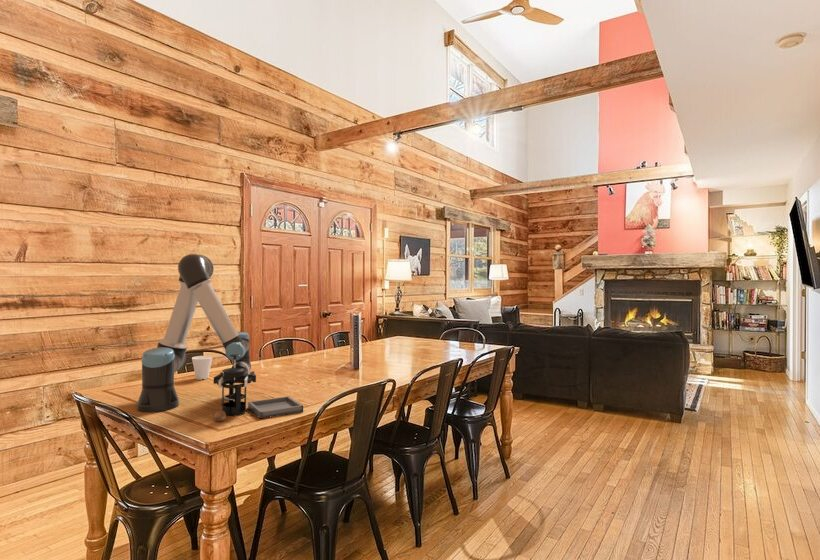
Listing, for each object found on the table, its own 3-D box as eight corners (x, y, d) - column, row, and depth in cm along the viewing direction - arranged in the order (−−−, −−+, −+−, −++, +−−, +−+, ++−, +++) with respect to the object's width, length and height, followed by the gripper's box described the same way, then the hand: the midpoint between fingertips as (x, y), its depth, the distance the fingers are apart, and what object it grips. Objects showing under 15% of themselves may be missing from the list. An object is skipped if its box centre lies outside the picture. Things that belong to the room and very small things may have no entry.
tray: (260, 418, 182) (260, 412, 182) (248, 407, 196) (248, 401, 196) (303, 411, 191) (303, 405, 191) (288, 402, 205) (288, 396, 205)
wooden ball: (215, 423, 176) (215, 412, 175) (213, 420, 179) (213, 410, 179) (227, 421, 178) (227, 411, 178) (224, 419, 181) (224, 408, 181)
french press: (218, 410, 191) (219, 353, 191) (242, 407, 196) (243, 351, 196) (225, 418, 181) (226, 358, 181) (250, 414, 187) (251, 356, 186)
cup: (216, 376, 252) (216, 356, 252) (206, 381, 242) (206, 359, 242) (198, 376, 253) (198, 355, 253) (187, 380, 243) (187, 358, 243)
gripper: (265, 379, 209) (261, 392, 187) (212, 381, 204) (202, 395, 182) (265, 362, 209) (261, 373, 187) (212, 364, 203) (202, 375, 181)
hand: (232, 384), depth 184 cm, fingers closed on french press, 9 cm apart
